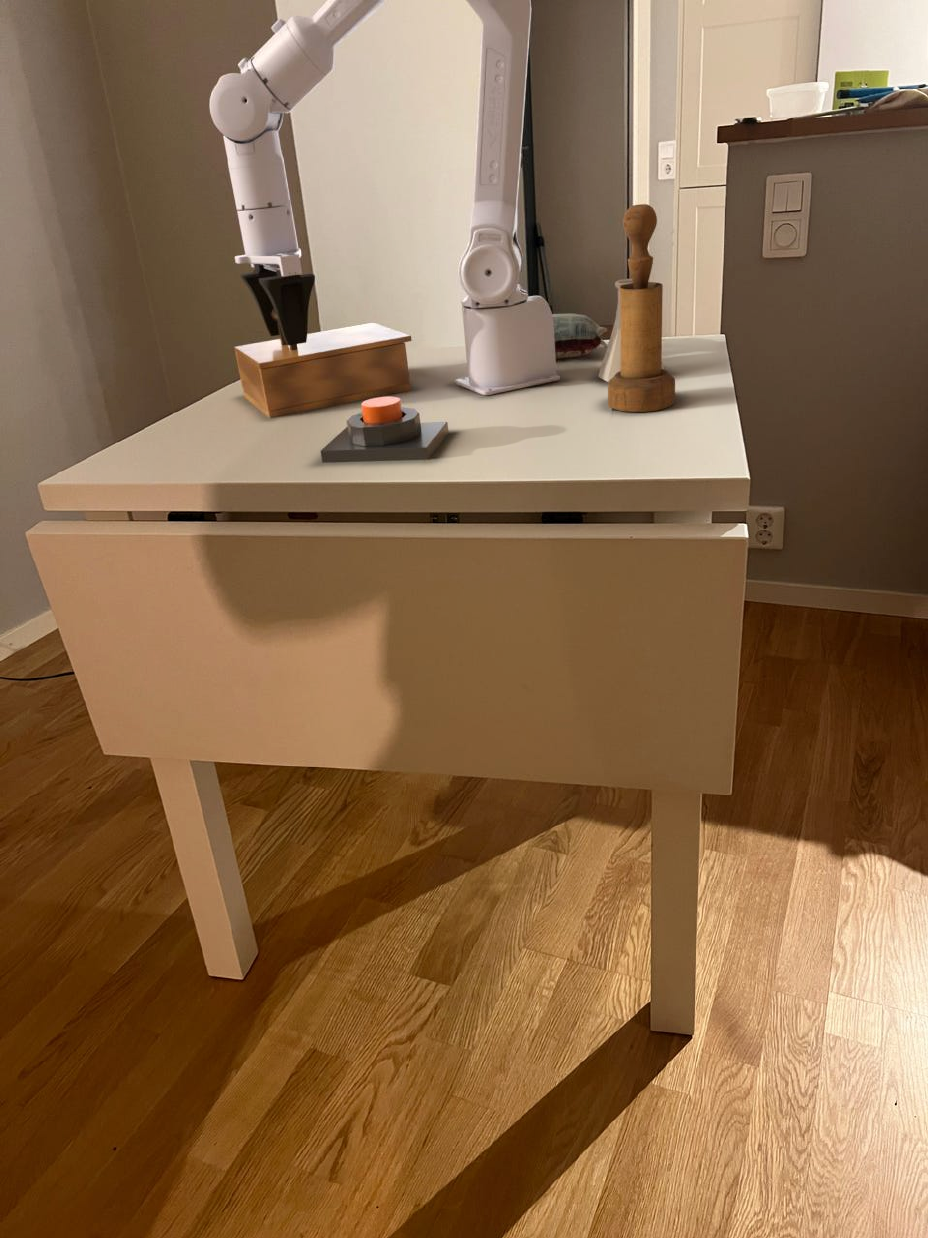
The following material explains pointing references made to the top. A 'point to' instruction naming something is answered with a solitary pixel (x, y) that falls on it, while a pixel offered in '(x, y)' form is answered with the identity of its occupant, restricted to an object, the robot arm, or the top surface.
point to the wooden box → (325, 380)
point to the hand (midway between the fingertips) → (287, 338)
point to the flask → (614, 343)
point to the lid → (320, 344)
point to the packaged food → (576, 335)
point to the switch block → (386, 440)
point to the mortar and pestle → (641, 326)
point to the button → (381, 410)
